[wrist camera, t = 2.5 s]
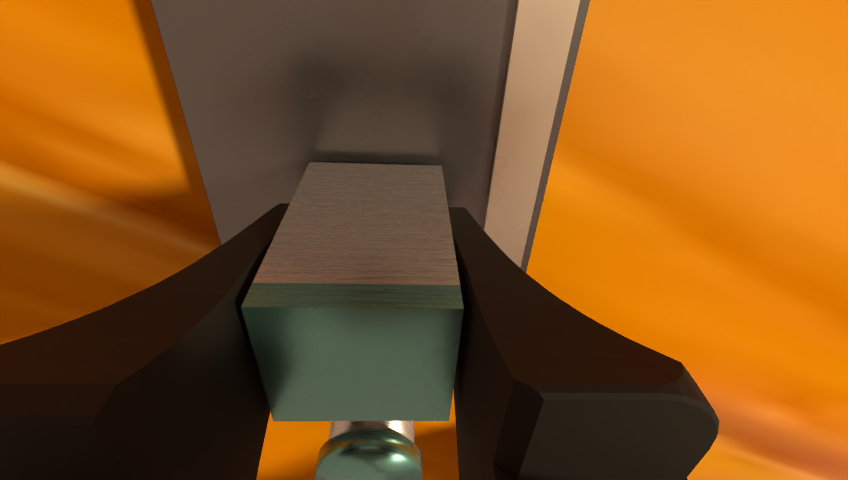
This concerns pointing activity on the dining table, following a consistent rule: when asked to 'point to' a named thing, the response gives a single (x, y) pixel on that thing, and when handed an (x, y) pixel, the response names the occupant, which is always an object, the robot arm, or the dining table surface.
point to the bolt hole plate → (375, 97)
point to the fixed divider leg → (370, 452)
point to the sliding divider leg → (359, 298)
